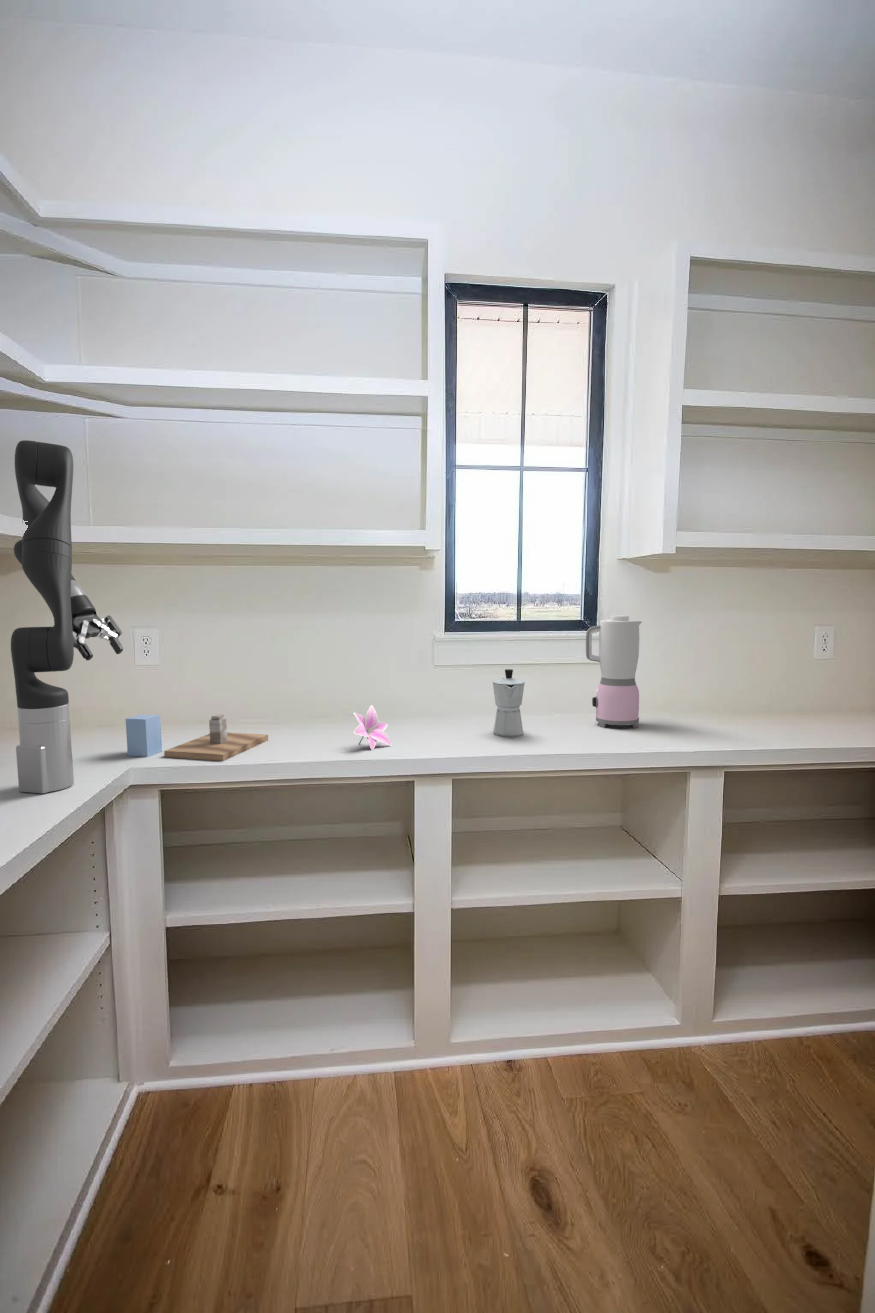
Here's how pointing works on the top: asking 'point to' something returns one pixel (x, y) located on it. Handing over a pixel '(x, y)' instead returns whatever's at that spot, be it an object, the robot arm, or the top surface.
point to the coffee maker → (508, 706)
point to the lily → (371, 728)
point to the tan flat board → (216, 743)
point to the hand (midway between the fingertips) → (105, 655)
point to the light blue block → (143, 735)
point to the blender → (616, 671)
